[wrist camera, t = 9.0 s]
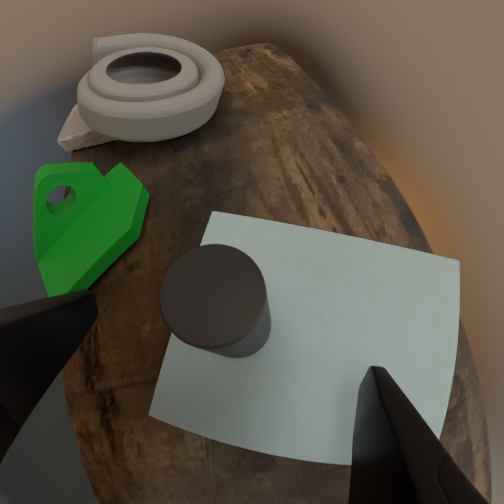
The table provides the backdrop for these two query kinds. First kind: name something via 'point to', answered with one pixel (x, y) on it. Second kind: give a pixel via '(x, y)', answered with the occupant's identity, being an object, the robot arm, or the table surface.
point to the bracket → (84, 222)
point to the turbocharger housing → (149, 87)
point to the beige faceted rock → (79, 133)
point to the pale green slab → (300, 335)
